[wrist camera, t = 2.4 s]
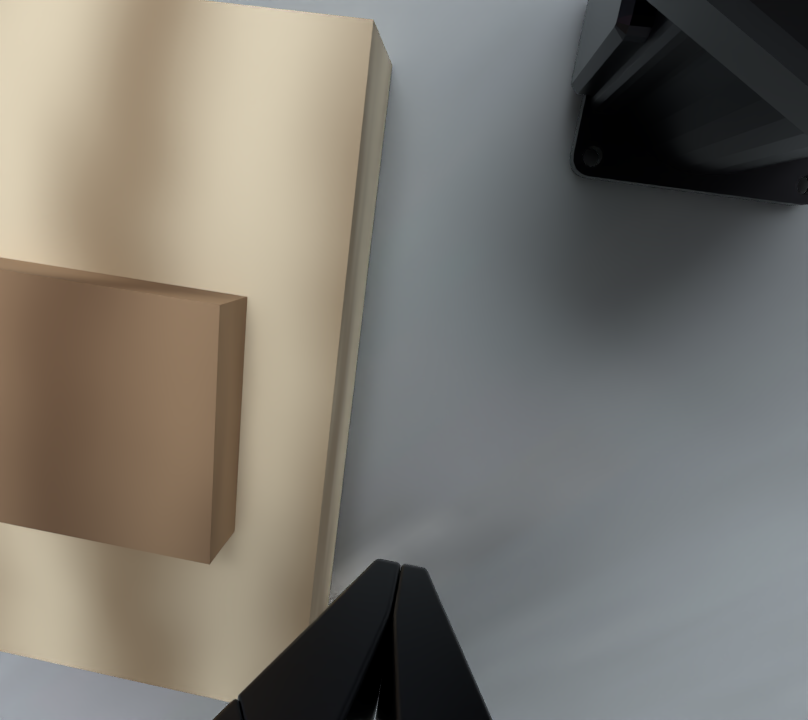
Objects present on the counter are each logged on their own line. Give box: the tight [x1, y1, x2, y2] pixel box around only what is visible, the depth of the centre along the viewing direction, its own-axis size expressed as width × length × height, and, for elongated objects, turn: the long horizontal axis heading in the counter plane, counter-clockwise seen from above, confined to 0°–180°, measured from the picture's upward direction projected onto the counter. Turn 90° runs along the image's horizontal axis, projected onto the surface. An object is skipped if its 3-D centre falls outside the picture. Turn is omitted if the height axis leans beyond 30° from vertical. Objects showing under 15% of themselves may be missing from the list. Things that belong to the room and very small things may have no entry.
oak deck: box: [0, 0, 392, 702], centre depth 15 cm, size 11×20×3 cm, turn 172°
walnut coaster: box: [0, 257, 247, 565], centre depth 13 cm, size 7×7×2 cm
